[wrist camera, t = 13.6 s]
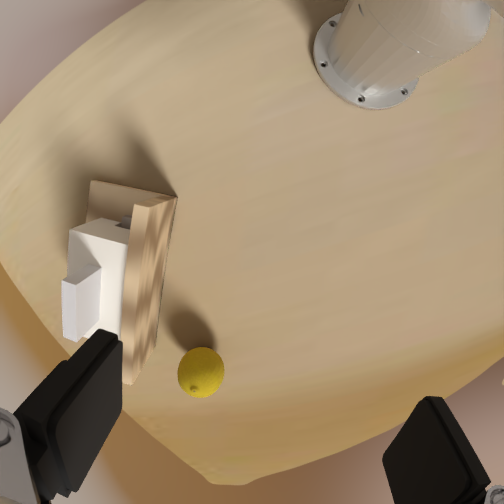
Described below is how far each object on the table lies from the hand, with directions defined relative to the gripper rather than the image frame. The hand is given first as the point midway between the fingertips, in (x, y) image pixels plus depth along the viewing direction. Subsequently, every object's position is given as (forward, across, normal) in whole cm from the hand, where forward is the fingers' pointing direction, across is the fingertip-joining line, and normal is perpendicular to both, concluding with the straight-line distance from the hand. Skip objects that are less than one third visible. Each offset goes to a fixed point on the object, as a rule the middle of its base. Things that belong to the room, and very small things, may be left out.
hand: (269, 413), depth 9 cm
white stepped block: (+27, +16, +9) cm, 33 cm away
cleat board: (+28, +16, +9) cm, 34 cm away
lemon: (+28, +4, +18) cm, 34 cm away
